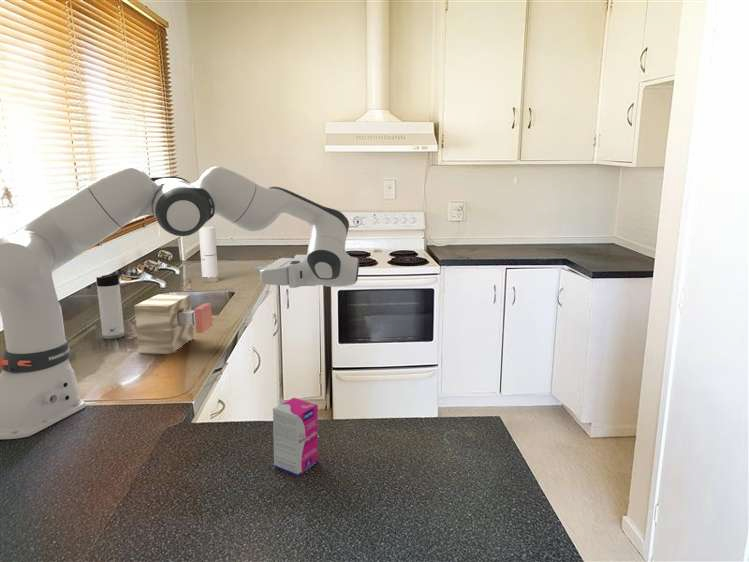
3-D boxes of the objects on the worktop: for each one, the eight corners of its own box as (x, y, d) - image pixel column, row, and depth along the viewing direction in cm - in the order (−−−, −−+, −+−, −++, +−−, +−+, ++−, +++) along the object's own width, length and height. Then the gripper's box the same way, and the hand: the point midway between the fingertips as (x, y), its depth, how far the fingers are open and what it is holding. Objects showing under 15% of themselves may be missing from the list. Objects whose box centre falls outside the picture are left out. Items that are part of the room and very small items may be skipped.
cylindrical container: (215, 283, 250) (212, 228, 245) (200, 283, 250) (196, 228, 245) (220, 279, 257) (217, 226, 252) (205, 279, 257) (201, 226, 252)
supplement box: (299, 478, 94) (297, 416, 92) (273, 468, 97) (270, 408, 95) (319, 462, 99) (318, 403, 97) (294, 453, 102) (292, 396, 100)
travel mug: (117, 340, 169) (110, 276, 165) (98, 338, 170) (91, 275, 166) (129, 334, 175) (123, 272, 171) (111, 332, 176) (104, 271, 172)
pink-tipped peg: (202, 332, 158) (201, 309, 156) (156, 331, 159) (154, 307, 158) (212, 325, 164) (211, 303, 163) (168, 324, 166) (166, 302, 165)
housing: (172, 354, 156) (168, 306, 153) (138, 352, 157) (134, 305, 154) (193, 338, 170) (190, 294, 167) (162, 337, 171) (158, 294, 168)
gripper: (310, 253, 164) (265, 252, 165) (292, 265, 144) (241, 265, 145) (310, 274, 165) (266, 273, 166) (293, 289, 145) (242, 288, 147)
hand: (254, 269), depth 156 cm, fingers closed
